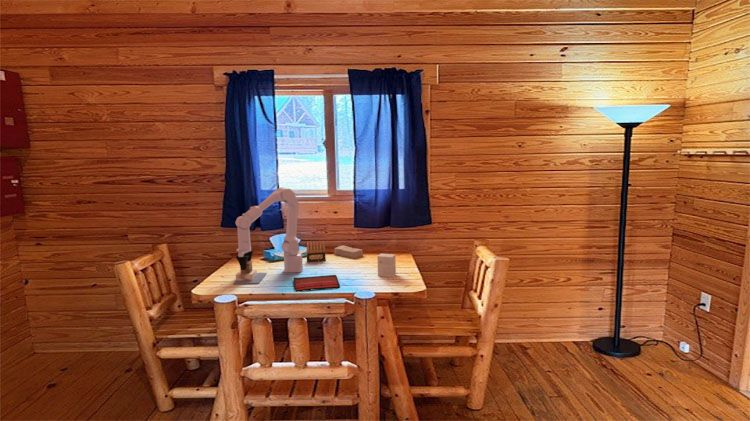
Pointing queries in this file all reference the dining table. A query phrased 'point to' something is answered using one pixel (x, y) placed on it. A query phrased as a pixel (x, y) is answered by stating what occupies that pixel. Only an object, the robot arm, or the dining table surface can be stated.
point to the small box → (386, 265)
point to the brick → (348, 252)
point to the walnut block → (247, 268)
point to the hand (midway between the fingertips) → (245, 267)
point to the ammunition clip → (316, 252)
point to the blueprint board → (259, 277)
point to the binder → (316, 282)
